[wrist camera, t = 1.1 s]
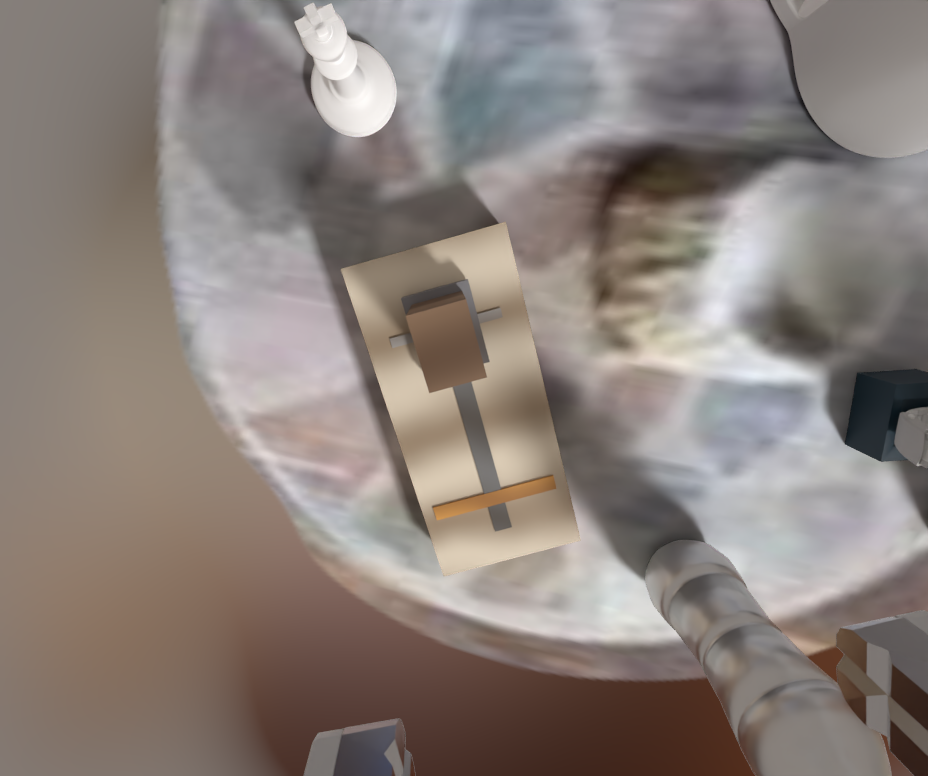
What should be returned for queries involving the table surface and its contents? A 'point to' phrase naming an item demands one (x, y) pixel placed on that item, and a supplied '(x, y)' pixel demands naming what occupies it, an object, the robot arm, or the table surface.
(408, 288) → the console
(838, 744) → the plastic bottle
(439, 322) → the slider
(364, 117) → the chess piece
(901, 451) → the watch
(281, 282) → the table surface
